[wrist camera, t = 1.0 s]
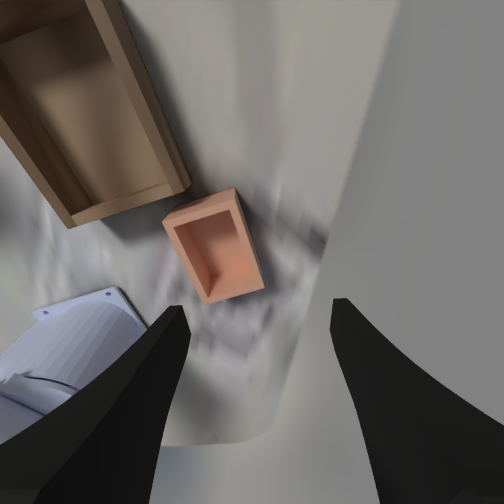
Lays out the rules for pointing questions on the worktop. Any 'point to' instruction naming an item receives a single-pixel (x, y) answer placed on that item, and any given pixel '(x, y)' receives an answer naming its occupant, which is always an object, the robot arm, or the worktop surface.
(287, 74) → the worktop surface
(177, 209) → the small crate
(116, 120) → the big crate
